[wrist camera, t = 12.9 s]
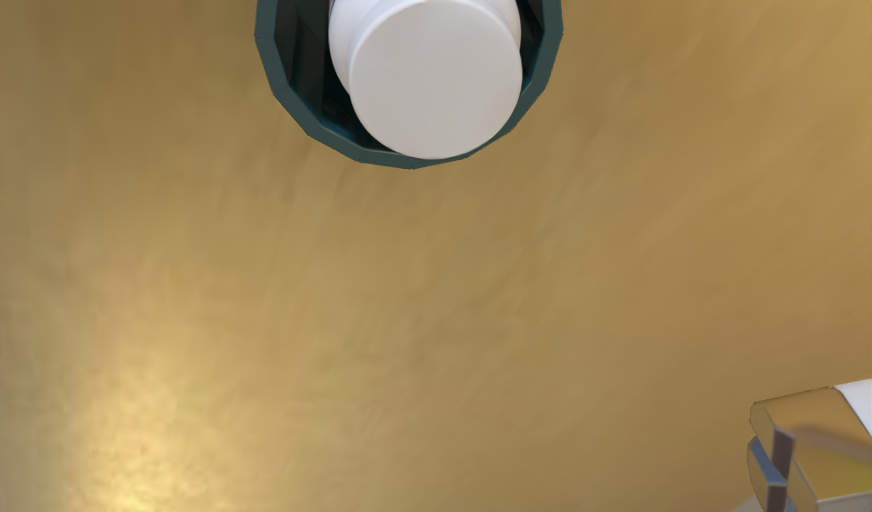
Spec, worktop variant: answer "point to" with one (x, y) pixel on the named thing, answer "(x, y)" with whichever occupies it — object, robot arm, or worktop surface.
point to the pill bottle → (428, 70)
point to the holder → (331, 104)
